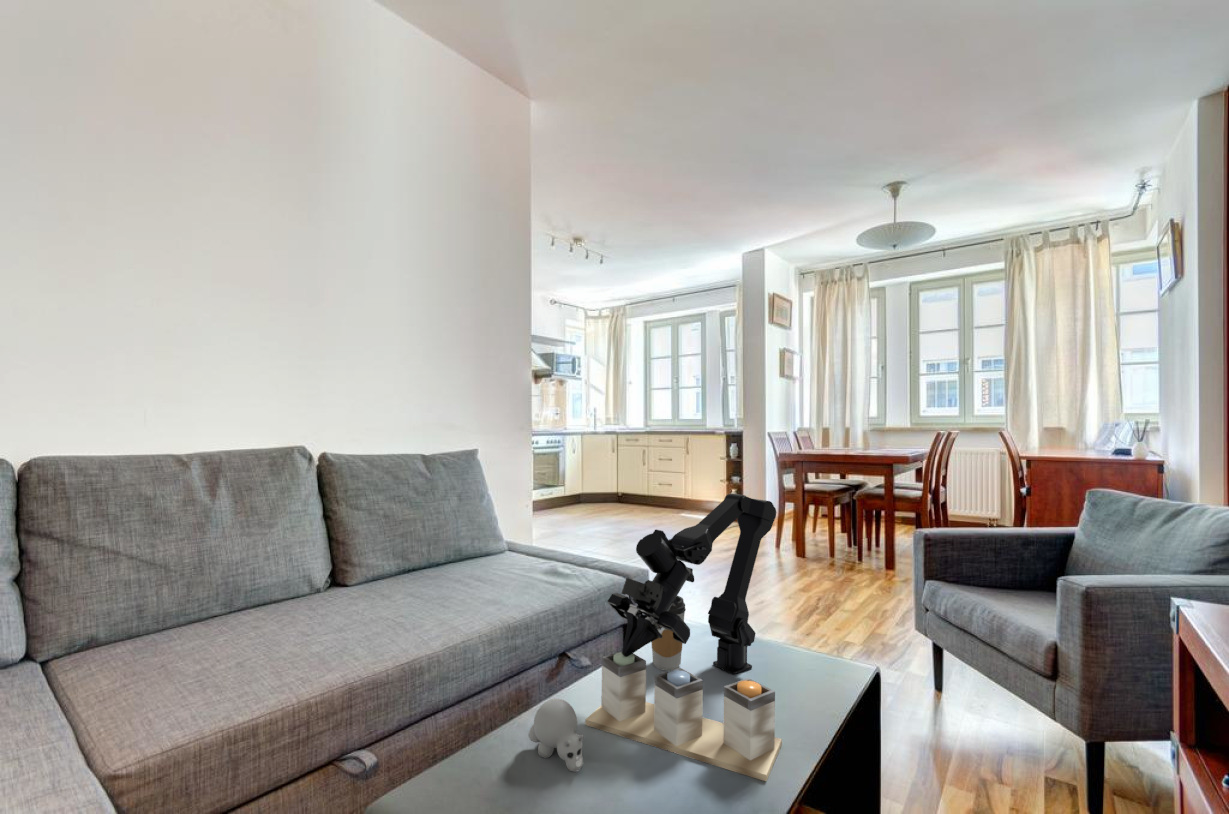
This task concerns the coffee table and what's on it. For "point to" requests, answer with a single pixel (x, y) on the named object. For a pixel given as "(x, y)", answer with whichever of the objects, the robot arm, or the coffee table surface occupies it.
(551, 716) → the toy rhinoceros
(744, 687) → the orange button
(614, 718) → the button board
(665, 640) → the coffee cup
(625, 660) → the sage button
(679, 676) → the slate button
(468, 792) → the coffee table surface
